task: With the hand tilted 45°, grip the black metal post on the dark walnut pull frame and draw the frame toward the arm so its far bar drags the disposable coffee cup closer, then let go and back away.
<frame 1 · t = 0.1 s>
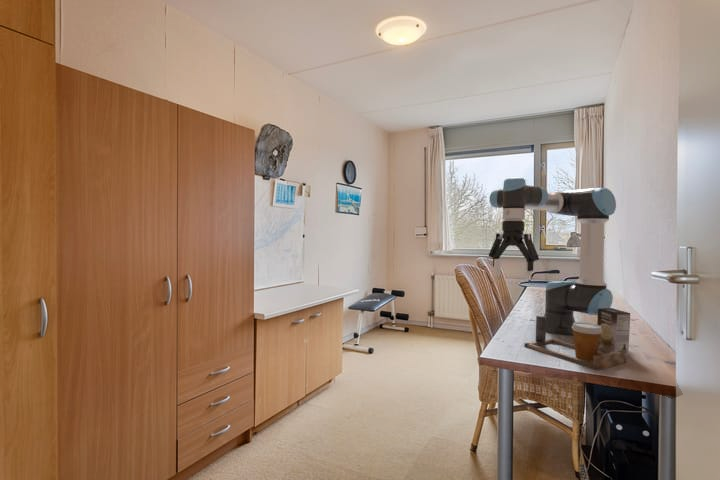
hand: (511, 278, 138), 28 cm above the table, tool pointing down, fingers open, 13 cm apart
pull frame: (571, 338, 139), point 6 cm above the table, slide at 0.0 cm
disposable coffee cup: (585, 358, 135), resting in pull frame
coffee box: (612, 352, 143), on the table
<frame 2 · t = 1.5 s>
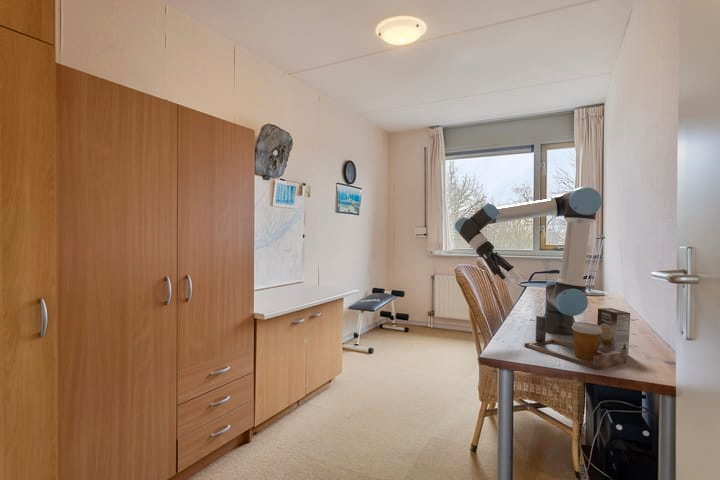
hand: (515, 283, 156), 24 cm above the table, tool tilted 45°, fingers open, 13 cm apart
nothing on the table moved.
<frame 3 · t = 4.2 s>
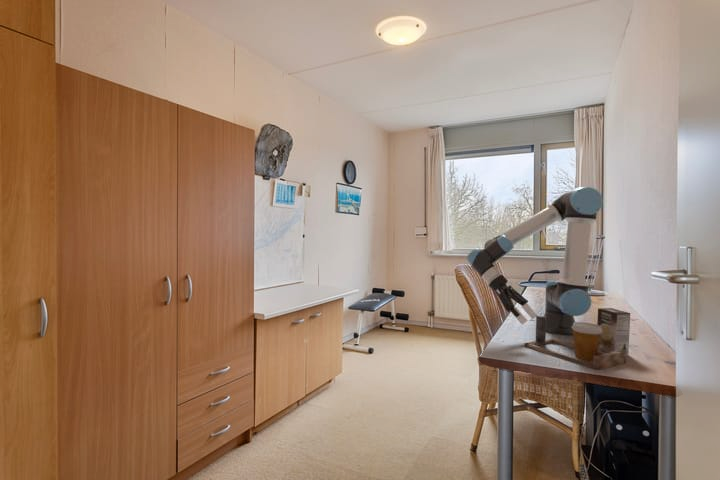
hand: (530, 320, 152), 9 cm above the table, tool tilted 45°, fingers open, 13 cm apart
nothing on the table moved.
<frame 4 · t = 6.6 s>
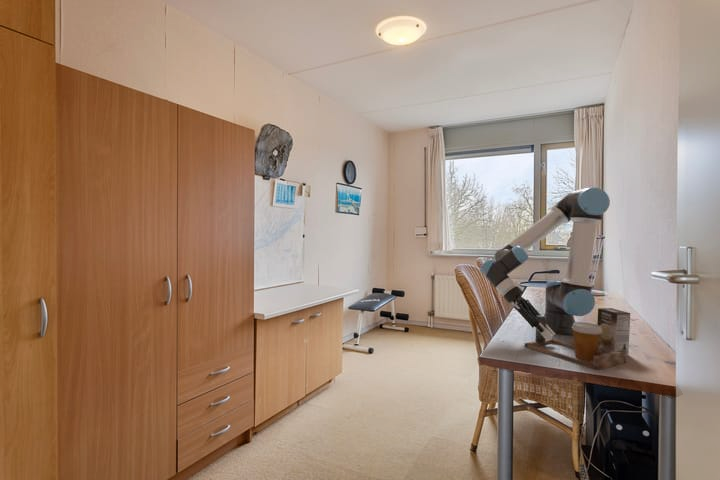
hand: (550, 337, 148), 4 cm above the table, tool tilted 45°, fingers closed on pull frame, 4 cm apart
pull frame: (571, 338, 139), point 6 cm above the table, slide at 0.0 cm, touching gripper
everything else where it was.
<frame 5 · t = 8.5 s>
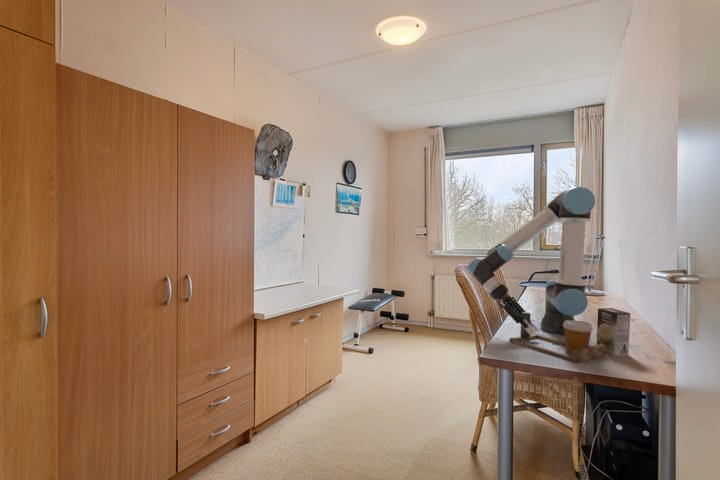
hand: (534, 332, 154), 4 cm above the table, tool tilted 45°, fingers closed on pull frame, 4 cm apart
pull frame: (553, 333, 146), point 6 cm above the table, slide at 7.2 cm, touching disposable coffee cup, gripper
disposable coffee cup: (576, 355, 138), resting in pull frame
everything else where it was.
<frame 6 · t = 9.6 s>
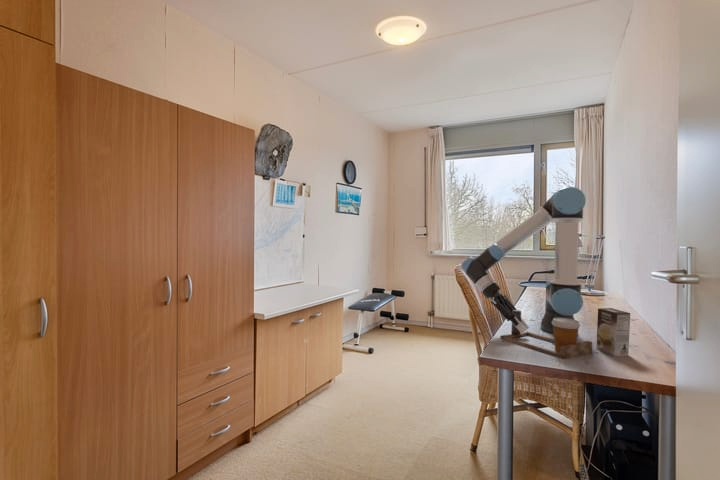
hand: (525, 330, 158), 4 cm above the table, tool tilted 45°, fingers closed on pull frame, 4 cm apart
pull frame: (542, 330, 150), point 6 cm above the table, slide at 11.7 cm, touching disposable coffee cup, gripper
disposable coffee cup: (564, 352, 142), resting in pull frame
everything else where it was.
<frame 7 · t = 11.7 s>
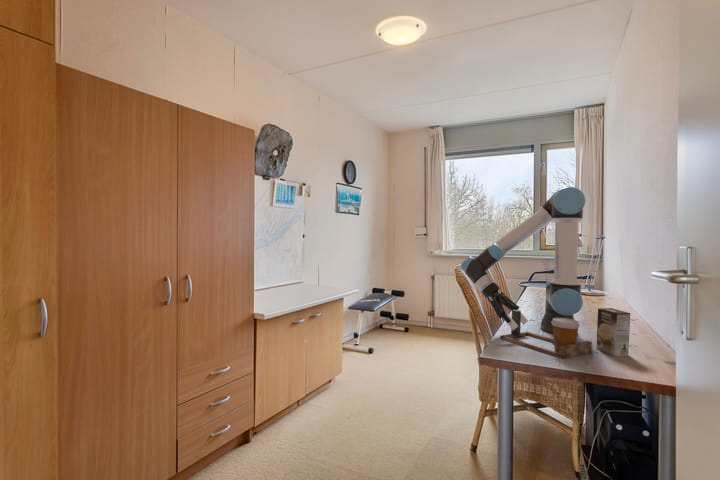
hand: (521, 325, 160), 5 cm above the table, tool tilted 45°, fingers open, 13 cm apart
pull frame: (542, 330, 150), point 6 cm above the table, slide at 11.9 cm
disposable coffee cup: (564, 352, 142), resting in pull frame
everything else where it was.
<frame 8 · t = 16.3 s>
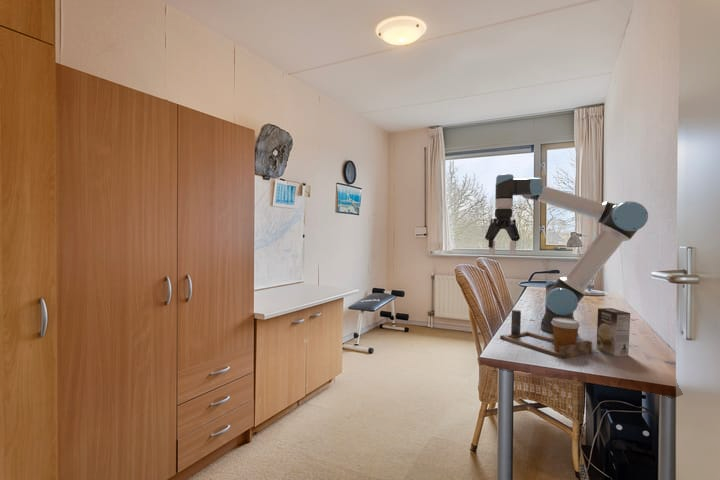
hand: (502, 254, 171), 35 cm above the table, tool pointing down, fingers open, 13 cm apart
nothing on the table moved.
at the end: pull frame slide at 11.9 cm; disposable coffee cup inside the target area (3.6 cm from its centre), resting in pull frame; disposable coffee cup tilted 0° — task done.
